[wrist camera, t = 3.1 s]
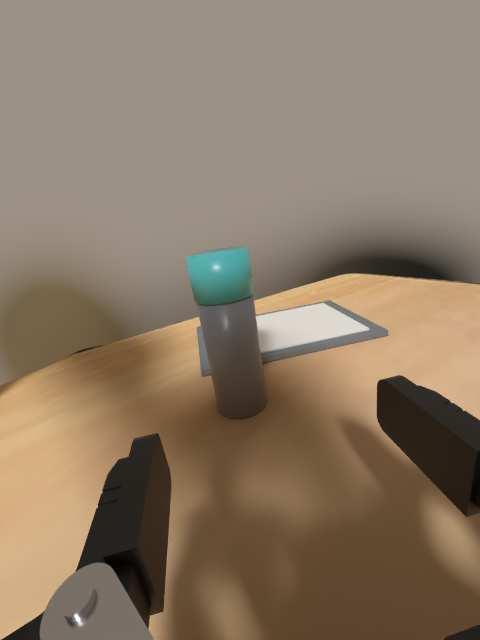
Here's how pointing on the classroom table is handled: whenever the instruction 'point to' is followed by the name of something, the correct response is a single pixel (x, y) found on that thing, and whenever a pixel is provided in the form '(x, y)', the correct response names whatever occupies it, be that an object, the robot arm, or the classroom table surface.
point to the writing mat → (304, 331)
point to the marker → (229, 328)
